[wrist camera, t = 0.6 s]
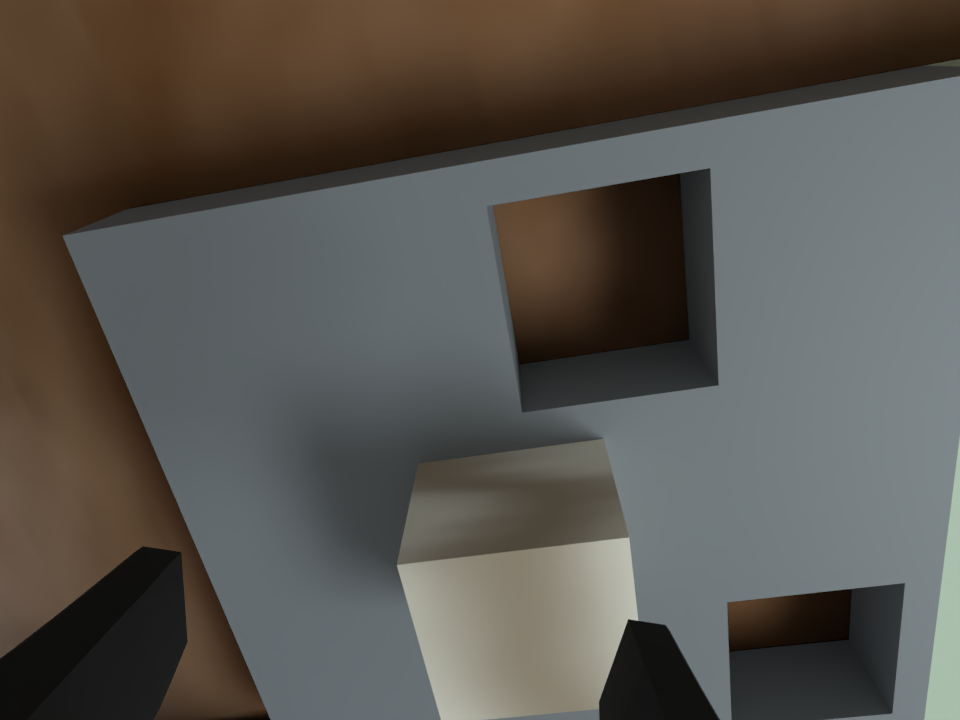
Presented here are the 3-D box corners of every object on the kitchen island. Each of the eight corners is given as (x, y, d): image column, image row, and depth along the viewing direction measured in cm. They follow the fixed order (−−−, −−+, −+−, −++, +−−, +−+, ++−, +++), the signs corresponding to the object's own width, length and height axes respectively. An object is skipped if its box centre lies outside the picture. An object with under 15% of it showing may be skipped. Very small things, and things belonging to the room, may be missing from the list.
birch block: (453, 603, 20) (442, 723, 17) (417, 463, 18) (396, 565, 15) (620, 585, 20) (647, 704, 16) (603, 438, 18) (629, 537, 14)
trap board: (320, 711, 27) (299, 786, 24) (126, 209, 19) (62, 235, 16) (1083, 636, 24) (1157, 711, 21) (1236, 9, 16) (1386, 0, 13)
